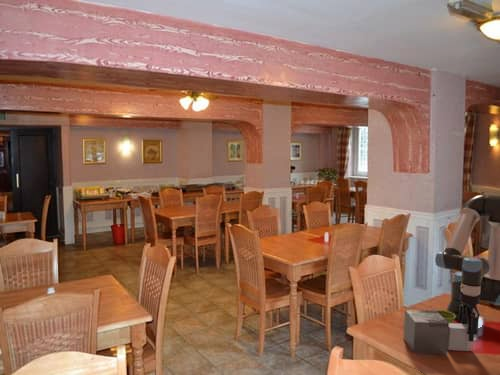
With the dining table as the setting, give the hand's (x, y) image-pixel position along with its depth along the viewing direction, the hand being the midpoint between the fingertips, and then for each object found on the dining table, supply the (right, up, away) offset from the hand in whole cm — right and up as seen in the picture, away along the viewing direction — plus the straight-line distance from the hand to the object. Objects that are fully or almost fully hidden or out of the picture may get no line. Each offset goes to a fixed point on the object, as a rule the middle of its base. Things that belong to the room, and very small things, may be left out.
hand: (466, 344), depth 179 cm
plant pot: (-2, 0, +16) cm, 16 cm away
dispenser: (-18, -1, +1) cm, 18 cm away
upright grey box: (-4, -2, 0) cm, 4 cm away
